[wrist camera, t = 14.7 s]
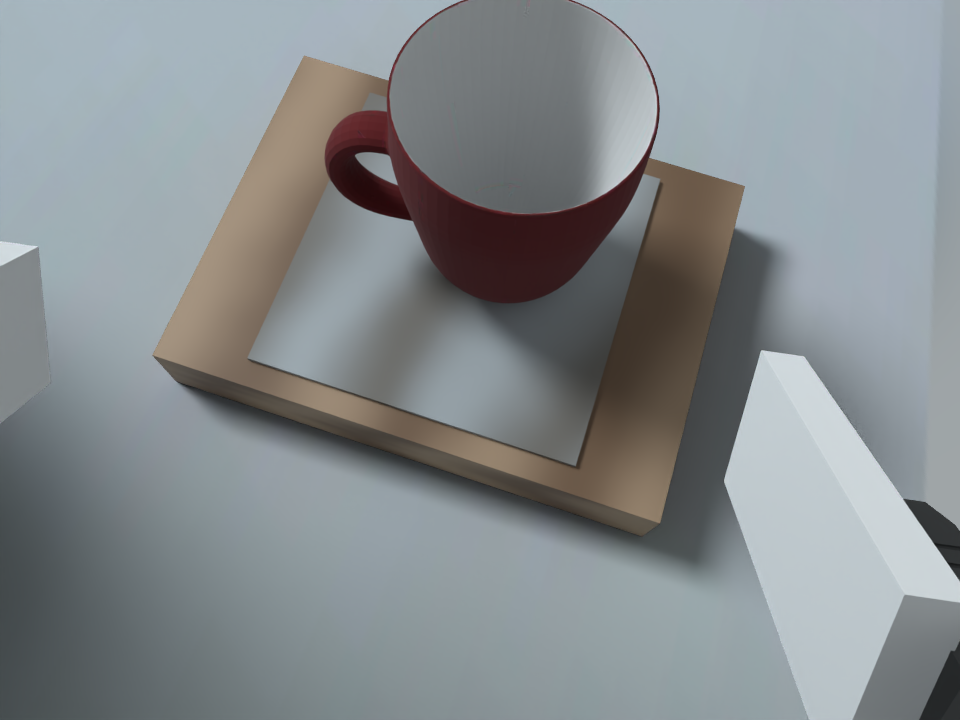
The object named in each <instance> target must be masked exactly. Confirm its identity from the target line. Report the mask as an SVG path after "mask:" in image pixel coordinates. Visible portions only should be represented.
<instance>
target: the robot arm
mask: <svg viewBox="0 0 960 720" xmlns="http://www.w3.org/2000/svg"><path fill="white" fill-rule="evenodd" d="M50 383H51V377H50V366H49V355H48V345H47V334H46V323H45V313H44V302H43V291H42V280H41V270H40V259H39V248H38V247H37V246H30V245H23V244H16V243H9V242H2V241H0V424H1V423H2V422H3V421H4V420H6V419H7V418H8V417H9V416H11V415H12V414H13V413H14V412H16V411H17V410H18V409H19V408H21V407H22V406H23V405H24V404H26V403H27V402H28V401H29V400H30V399H32V398H33V397H34V396H35V395H37V394H38V393H39V392H40V391H42V390H43V389H44V388H45V387H47V386H48V385H49V384H50ZM724 483H725V486H726V488H727V491H728V494H729V497H730V500H731V502H732V505H733V508H734V511H735V514H736V516H737V519H738V522H739V525H740V528H741V530H742V533H743V536H744V539H745V542H746V544H747V547H748V550H749V553H750V556H751V558H752V561H753V564H754V567H755V570H756V572H757V575H758V578H759V581H760V584H761V586H762V589H763V592H764V595H765V598H766V600H767V603H768V606H769V609H770V612H771V614H772V617H773V620H774V623H775V626H776V629H777V631H778V634H779V637H780V640H781V643H782V645H783V648H784V651H785V654H786V657H787V659H788V662H789V665H790V668H791V671H792V673H793V676H794V679H795V682H796V685H797V687H798V690H799V693H800V696H801V699H802V701H803V704H804V707H805V710H806V713H807V715H808V718H809V720H960V531H959V530H958V528H957V527H956V525H955V524H953V523H952V522H951V521H949V520H948V519H946V518H945V517H944V516H943V515H941V514H940V513H939V512H937V511H936V510H935V509H934V508H932V507H931V506H930V505H928V504H927V503H926V502H921V501H914V500H907V499H902V497H901V496H900V494H899V493H898V491H897V490H896V488H895V487H894V486H893V484H892V483H891V481H890V480H889V478H888V477H887V475H886V474H885V473H884V471H883V470H882V468H881V467H880V465H879V464H878V462H877V461H876V460H875V458H874V457H873V455H872V454H871V452H870V451H869V449H868V448H867V447H866V445H865V444H864V442H863V441H862V439H861V438H860V436H859V435H858V434H857V432H856V431H855V429H854V428H853V426H852V425H851V423H850V422H849V421H848V419H847V418H846V416H845V415H844V413H843V412H842V410H841V409H840V408H839V406H838V405H837V403H836V402H835V400H834V399H833V397H832V396H831V395H830V393H829V392H828V390H827V389H826V387H825V386H824V384H823V383H822V382H821V380H820V379H819V377H818V376H817V374H816V373H815V371H814V370H813V369H812V367H811V366H810V364H809V363H808V361H807V360H806V358H805V357H804V356H798V355H791V354H784V353H777V352H770V351H763V350H761V353H760V356H759V360H758V363H757V367H756V370H755V374H754V377H753V381H752V384H751V388H750V391H749V395H748V398H747V402H746V405H745V409H744V412H743V416H742V419H741V423H740V426H739V430H738V433H737V437H736V440H735V444H734V447H733V451H732V454H731V458H730V461H729V465H728V468H727V472H726V475H725V479H724Z"/></svg>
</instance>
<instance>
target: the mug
mask: <svg viewBox="0 0 960 720" xmlns="http://www.w3.org/2000/svg"><path fill="white" fill-rule="evenodd" d="M659 112H660V106H659V95H658V90H657V85H656V82H655V78H654V75H653V73H652V71H651V68H650V66H649V64H648V62H647V61H646V59H645V57H644V55H643V54H642V52H641V51H640V49H639V48H638V47H637V45H636V44H635V43H634V42H633V41H632V39H631V38H630V37H629V36H628V35H627V34H626V33H625V32H624V31H623V30H622V29H621V28H619V27H618V26H617V25H616V24H614V23H613V22H612V21H610V20H609V19H608V18H606V17H605V16H603V15H602V14H600V13H598V12H596V11H595V10H593V9H591V8H589V7H587V6H585V5H582V4H580V3H578V2H575V1H572V0H463V1H460V2H458V3H456V4H453V5H451V6H449V7H447V8H445V9H443V10H442V11H440V12H438V13H437V14H435V15H434V16H432V17H431V18H430V19H428V20H427V21H426V22H425V23H423V24H422V25H421V26H420V27H419V28H418V29H417V30H416V31H415V32H414V33H413V34H412V35H411V36H410V38H409V39H408V40H407V41H406V43H405V44H404V45H403V47H402V49H401V50H400V52H399V54H398V56H397V58H396V60H395V62H394V64H393V67H392V70H391V73H390V77H389V82H388V88H387V112H386V111H380V110H366V111H360V112H355V113H353V114H350V115H348V116H347V117H345V118H344V119H342V120H341V121H340V122H339V123H338V124H337V125H336V127H335V128H334V129H333V130H332V132H331V134H330V136H329V139H328V141H327V143H326V148H325V157H324V160H325V166H326V171H327V174H328V176H329V178H330V180H331V182H332V183H333V184H334V186H335V187H336V188H337V190H338V191H339V192H340V193H341V194H342V195H343V196H344V197H346V198H347V199H348V200H350V201H351V202H353V203H354V204H356V205H358V206H360V207H362V208H364V209H366V210H369V211H372V212H374V213H377V214H381V215H385V216H389V217H394V218H398V219H404V220H409V221H413V223H414V225H415V227H416V230H417V232H418V234H419V236H420V239H421V241H422V243H423V246H424V248H425V250H426V252H427V253H428V255H429V257H430V259H431V260H432V262H433V263H434V265H435V266H436V267H437V269H438V270H439V271H440V272H441V273H442V275H443V276H444V277H445V278H446V279H447V280H449V281H450V282H451V283H452V284H454V285H455V286H456V287H458V288H459V289H461V290H462V291H464V292H466V293H468V294H470V295H472V296H474V297H477V298H479V299H482V300H486V301H490V302H495V303H522V302H527V301H531V300H535V299H538V298H541V297H543V296H546V295H548V294H550V293H552V292H554V291H555V290H557V289H559V288H560V287H562V286H563V285H564V284H566V283H567V282H568V281H569V280H571V279H572V278H573V277H574V276H575V275H576V274H577V273H578V272H579V270H580V269H581V268H582V267H583V266H584V265H585V263H586V262H587V261H588V260H589V258H590V257H591V256H592V254H593V253H594V252H595V251H596V249H597V248H598V247H599V246H600V244H601V243H602V242H603V241H604V239H605V238H606V237H607V235H608V234H609V233H610V232H611V230H612V229H613V228H614V226H615V225H616V224H617V222H618V221H619V220H620V218H621V217H622V216H623V214H624V212H625V211H626V209H627V207H628V206H629V204H630V202H631V201H632V199H633V197H634V195H635V193H636V190H637V188H638V186H639V184H640V181H641V179H642V176H643V173H644V171H645V168H646V165H647V162H648V159H649V156H650V153H651V150H652V147H653V144H654V141H655V137H656V134H657V129H658V123H659ZM363 152H372V153H380V154H385V155H388V156H390V159H391V163H392V167H393V171H394V174H395V177H396V181H397V184H398V185H396V184H393V183H391V182H389V181H386V180H384V179H382V178H380V177H378V176H377V175H375V174H373V173H372V172H370V171H369V170H368V169H366V168H365V167H364V166H363V165H362V164H361V163H360V162H359V161H358V160H357V158H356V157H355V155H356V154H359V153H363Z"/></svg>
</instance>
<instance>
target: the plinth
mask: <svg viewBox="0 0 960 720" xmlns="http://www.w3.org/2000/svg"><path fill="white" fill-rule="evenodd" d="M388 82H389V81H388V80H384V79H381V78H378V77H374V76H371V75H368V74H364V73H361V72H357V71H354V70H351V69H347V68H344V67H341V66H337V65H334V64H330V63H327V62H324V61H320V60H317V59H314V58H310V57H307V56H304V57H303V59H302V61H301V63H300V65H299V67H298V69H297V71H296V73H295V75H294V77H293V79H292V80H291V82H290V84H289V86H288V88H287V90H286V92H285V94H284V96H283V98H282V100H281V102H280V104H279V106H278V108H277V110H276V112H275V114H274V116H273V118H272V120H271V122H270V124H269V126H268V128H267V130H266V132H265V134H264V136H263V138H262V140H261V142H260V144H259V146H258V148H257V150H256V152H255V154H254V155H253V157H252V159H251V161H250V163H249V165H248V167H247V169H246V171H245V173H244V175H243V177H242V179H241V181H240V183H239V185H238V187H237V189H236V191H235V193H234V195H233V197H232V199H231V201H230V203H229V205H228V207H227V209H226V211H225V213H224V215H223V217H222V219H221V221H220V223H219V225H218V227H217V229H216V231H215V232H214V234H213V236H212V238H211V240H210V242H209V244H208V246H207V248H206V250H205V252H204V254H203V256H202V258H201V260H200V262H199V264H198V266H197V268H196V270H195V272H194V274H193V276H192V278H191V280H190V282H189V284H188V286H187V288H186V290H185V292H184V294H183V296H182V298H181V300H180V302H179V304H178V306H177V308H176V309H175V311H174V313H173V315H172V317H171V319H170V321H169V323H168V325H167V327H166V329H165V331H164V333H163V335H162V337H161V339H160V341H159V343H158V345H157V347H156V349H155V351H154V353H153V356H154V358H155V359H156V360H157V361H158V362H159V363H160V364H161V365H162V366H163V367H164V369H165V370H166V371H167V372H168V373H169V374H170V375H171V376H172V377H173V378H174V380H175V381H177V382H180V383H183V384H186V385H189V386H192V387H195V388H198V389H201V390H204V391H207V392H210V393H213V394H216V395H219V396H222V397H225V398H228V399H231V400H234V401H237V402H240V403H243V404H246V405H249V406H252V407H255V408H258V409H261V410H264V411H267V412H270V413H273V414H276V415H279V416H282V417H285V418H288V419H291V420H294V421H297V422H300V423H303V424H306V425H309V426H312V427H315V428H318V429H321V430H324V431H327V432H330V433H333V434H336V435H339V436H342V437H345V438H348V439H351V440H354V441H357V442H360V443H363V444H366V445H369V446H372V447H375V448H378V449H381V450H384V451H387V452H390V453H393V454H396V455H399V456H402V457H405V458H408V459H411V460H414V461H417V462H420V463H423V464H426V465H429V466H432V467H435V468H438V469H441V470H444V471H447V472H450V473H453V474H456V475H459V476H462V477H465V478H468V479H471V480H474V481H477V482H480V483H483V484H486V485H489V486H492V487H495V488H498V489H501V490H504V491H507V492H510V493H513V494H516V495H519V496H522V497H525V498H528V499H531V500H534V501H537V502H540V503H543V504H546V505H549V506H552V507H555V508H558V509H561V510H564V511H567V512H570V513H573V514H576V515H579V516H582V517H585V518H588V519H591V520H594V521H597V522H600V523H603V524H606V525H609V526H612V527H615V528H618V529H621V530H624V531H627V532H630V533H633V534H636V535H639V536H644V535H645V534H646V533H648V532H649V531H650V530H652V529H653V528H654V527H656V526H657V525H658V524H660V521H661V517H662V513H663V509H664V505H665V501H666V498H667V494H668V490H669V486H670V482H671V478H672V474H673V470H674V466H675V462H676V458H677V454H678V450H679V446H680V442H681V438H682V434H683V430H684V426H685V422H686V418H687V414H688V410H689V406H690V402H691V398H692V394H693V390H694V386H695V382H696V378H697V374H698V370H699V366H700V362H701V358H702V354H703V351H704V347H705V343H706V339H707V335H708V331H709V327H710V323H711V319H712V315H713V311H714V307H715V303H716V299H717V295H718V291H719V287H720V283H721V279H722V275H723V271H724V267H725V263H726V259H727V255H728V251H729V247H730V243H731V239H732V235H733V231H734V227H735V223H736V219H737V215H738V211H739V207H740V204H741V200H742V196H743V192H744V188H745V186H742V185H739V184H736V183H732V182H729V181H726V180H722V179H719V178H715V177H712V176H709V175H705V174H702V173H698V172H695V171H692V170H688V169H685V168H682V167H678V166H675V165H671V164H668V163H665V162H661V161H658V160H655V159H651V158H649V159H648V162H647V165H646V168H645V171H644V173H643V176H642V179H641V181H640V184H639V186H638V188H637V190H636V193H635V195H634V197H633V199H632V201H631V202H630V204H629V206H628V207H627V209H626V211H625V212H624V214H623V216H622V217H621V218H620V220H619V221H618V222H617V224H616V225H615V226H614V228H613V229H612V230H611V232H610V233H609V234H608V235H607V237H606V238H605V239H604V241H603V242H602V243H601V244H600V246H599V247H598V248H597V249H596V251H595V252H594V253H593V254H592V256H591V257H590V258H589V260H588V261H587V262H586V263H585V265H584V266H583V267H582V268H581V269H580V270H579V272H578V273H577V274H576V275H575V276H574V277H573V278H572V279H571V280H569V281H568V282H567V283H566V284H564V285H563V286H562V287H560V288H559V289H557V290H555V291H554V292H552V293H550V294H548V295H546V296H543V297H541V298H538V299H535V300H531V301H527V302H522V303H495V302H490V301H486V300H482V299H479V298H477V297H474V296H472V295H470V294H468V293H466V292H464V291H462V290H461V289H459V288H458V287H456V286H455V285H454V284H452V283H451V282H450V281H449V280H447V279H446V278H445V277H444V276H443V275H442V273H441V272H440V271H439V270H438V269H437V267H436V266H435V265H434V263H433V262H432V260H431V259H430V257H429V255H428V253H427V252H426V250H425V248H424V246H423V243H422V241H421V239H420V236H419V234H418V232H417V230H416V227H415V225H414V223H413V221H409V220H404V219H398V218H394V217H389V216H385V215H381V214H377V213H374V212H372V211H369V210H366V209H364V208H362V207H360V206H358V205H356V204H354V203H353V202H351V201H350V200H348V199H347V198H346V197H344V196H343V195H342V194H341V193H340V192H339V191H338V190H337V188H336V187H335V186H334V184H333V183H332V182H331V180H330V178H329V176H328V174H327V171H326V166H325V160H324V157H325V148H326V143H327V141H328V139H329V136H330V134H331V132H332V130H333V129H334V128H335V127H336V125H337V124H338V123H339V122H340V121H341V120H342V119H344V118H345V117H347V116H348V115H350V114H353V113H355V112H360V111H366V110H380V111H386V112H387V88H388ZM355 157H356V158H357V160H358V161H359V162H360V163H361V164H362V165H363V166H364V167H365V168H366V169H368V170H369V171H370V172H372V173H373V174H375V175H377V176H378V177H380V178H382V179H384V180H386V181H389V182H391V183H393V184H396V185H398V184H397V181H396V177H395V174H394V171H393V167H392V163H391V159H390V156H388V155H385V154H380V153H372V152H363V153H359V154H356V155H355Z"/></svg>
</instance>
